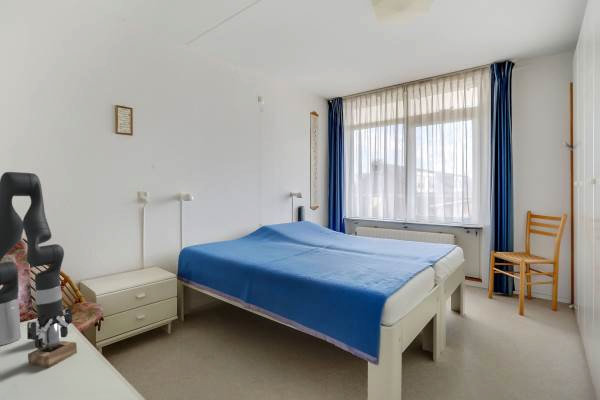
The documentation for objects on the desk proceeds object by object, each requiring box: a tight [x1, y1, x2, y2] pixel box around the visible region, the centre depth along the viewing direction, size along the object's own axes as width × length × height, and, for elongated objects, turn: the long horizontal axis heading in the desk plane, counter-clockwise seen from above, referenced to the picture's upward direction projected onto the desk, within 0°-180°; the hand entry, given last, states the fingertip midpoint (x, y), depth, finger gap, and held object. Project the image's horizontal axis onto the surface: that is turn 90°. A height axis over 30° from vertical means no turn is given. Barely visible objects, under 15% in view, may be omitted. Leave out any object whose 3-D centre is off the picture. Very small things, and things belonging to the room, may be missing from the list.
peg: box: [44, 323, 60, 353], centre depth 113 cm, size 4×4×12 cm
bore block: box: [27, 340, 78, 369], centre depth 113 cm, size 10×10×4 cm
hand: (52, 342), depth 113 cm, fingers open, 8 cm apart
